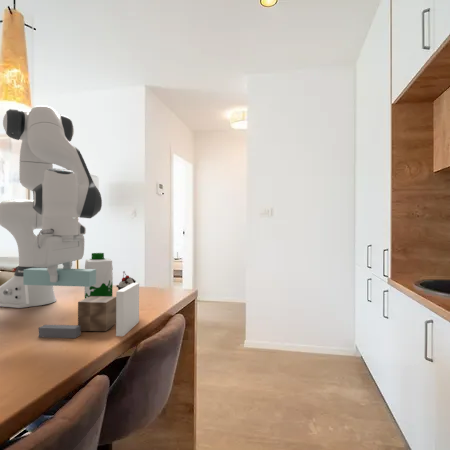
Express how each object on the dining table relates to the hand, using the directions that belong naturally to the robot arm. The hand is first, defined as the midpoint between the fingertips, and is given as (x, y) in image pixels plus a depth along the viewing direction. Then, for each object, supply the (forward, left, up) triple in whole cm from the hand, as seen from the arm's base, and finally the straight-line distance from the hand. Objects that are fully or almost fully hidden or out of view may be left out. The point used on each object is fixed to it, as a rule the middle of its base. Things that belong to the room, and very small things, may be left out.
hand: (60, 280), depth 95 cm
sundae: (+11, +21, -15) cm, 28 cm away
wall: (+16, +8, -15) cm, 23 cm away
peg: (0, 0, -1) cm, 1 cm away
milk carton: (0, +25, -15) cm, 29 cm away
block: (+7, +8, -15) cm, 18 cm away
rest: (0, 0, -15) cm, 15 cm away
